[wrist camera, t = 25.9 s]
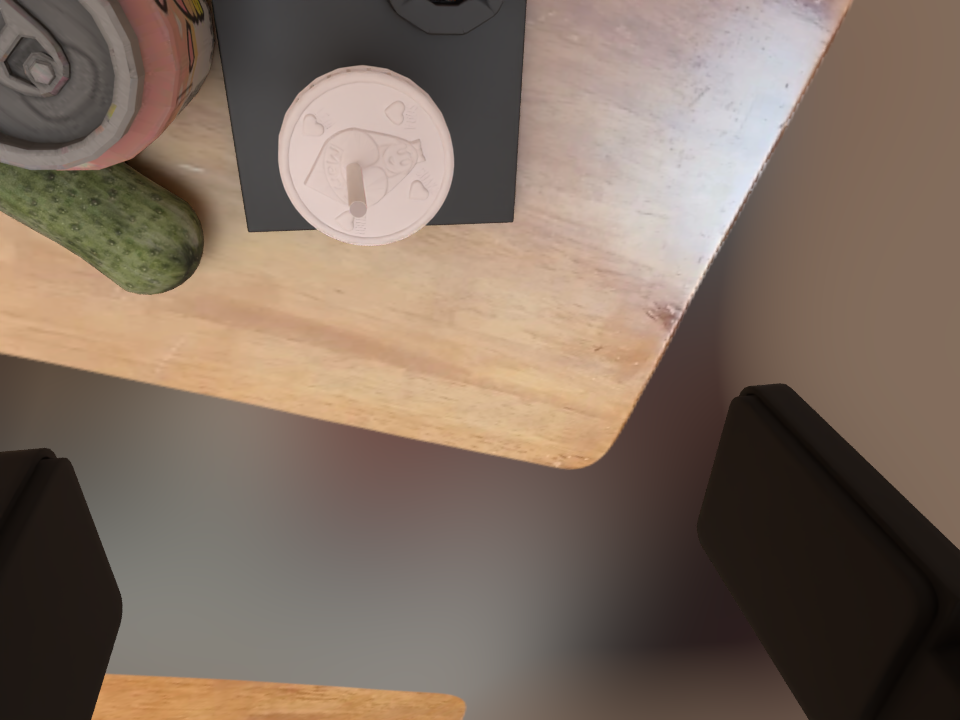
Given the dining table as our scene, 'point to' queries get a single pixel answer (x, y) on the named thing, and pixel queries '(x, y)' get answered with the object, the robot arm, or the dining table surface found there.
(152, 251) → the vegetable
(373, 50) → the grey button plate
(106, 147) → the beverage can
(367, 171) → the smoothie
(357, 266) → the dining table surface
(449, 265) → the dining table surface
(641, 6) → the dining table surface
